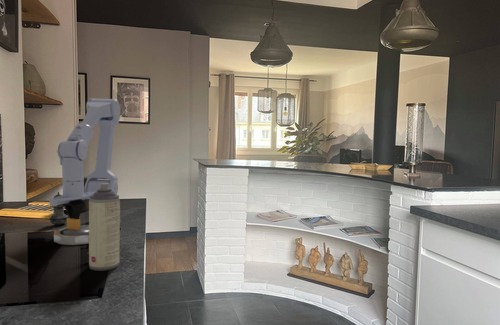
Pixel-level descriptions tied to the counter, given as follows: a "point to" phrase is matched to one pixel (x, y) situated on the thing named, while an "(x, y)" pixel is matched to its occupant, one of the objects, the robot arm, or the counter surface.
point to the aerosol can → (104, 229)
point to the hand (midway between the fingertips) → (74, 225)
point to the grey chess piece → (58, 214)
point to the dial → (75, 228)
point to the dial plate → (70, 238)
